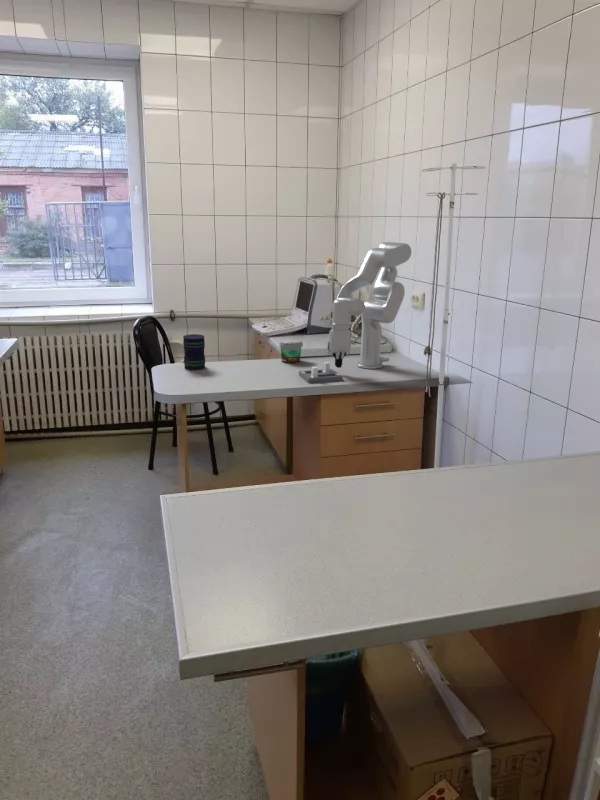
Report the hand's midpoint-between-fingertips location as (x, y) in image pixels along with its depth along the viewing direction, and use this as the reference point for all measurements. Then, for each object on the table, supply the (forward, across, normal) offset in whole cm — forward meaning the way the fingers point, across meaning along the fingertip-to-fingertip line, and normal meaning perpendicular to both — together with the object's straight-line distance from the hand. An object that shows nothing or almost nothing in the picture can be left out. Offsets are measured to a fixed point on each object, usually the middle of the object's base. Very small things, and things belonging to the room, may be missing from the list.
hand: (338, 366), depth 283 cm
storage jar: (+4, +61, -29) cm, 67 cm away
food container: (+4, +13, -27) cm, 30 cm away
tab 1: (+3, +14, +7) cm, 16 cm away
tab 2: (+3, +6, 0) cm, 6 cm away
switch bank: (+4, +10, +3) cm, 11 cm away
